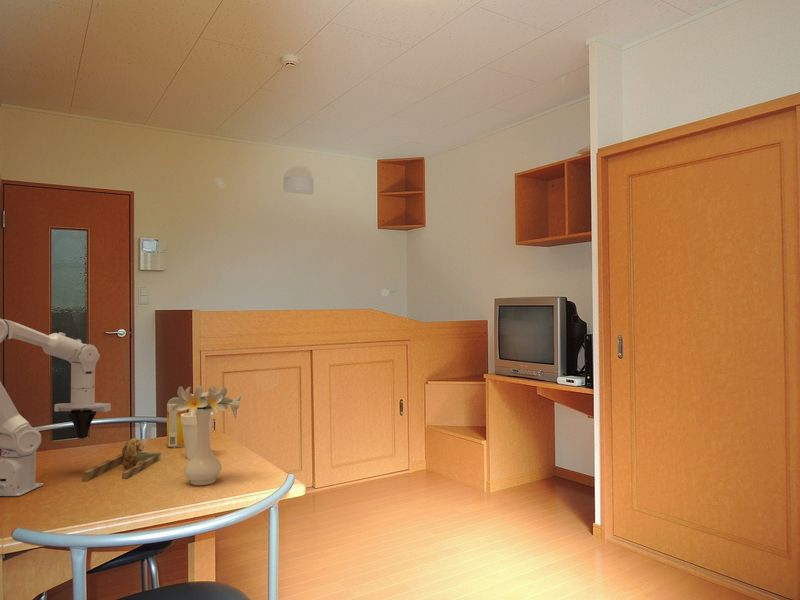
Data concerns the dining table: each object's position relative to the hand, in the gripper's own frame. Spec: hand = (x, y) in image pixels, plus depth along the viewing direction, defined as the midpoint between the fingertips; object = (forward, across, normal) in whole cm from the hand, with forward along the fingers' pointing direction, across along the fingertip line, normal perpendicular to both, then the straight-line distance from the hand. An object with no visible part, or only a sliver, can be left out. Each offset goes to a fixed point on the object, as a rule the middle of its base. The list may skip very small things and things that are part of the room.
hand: (82, 437), depth 160 cm
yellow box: (+10, -12, -34) cm, 37 cm away
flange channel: (+10, -9, -5) cm, 14 cm away
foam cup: (+10, -24, -20) cm, 33 cm away
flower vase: (+10, -36, +6) cm, 38 cm away
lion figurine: (+10, -10, -8) cm, 16 cm away
